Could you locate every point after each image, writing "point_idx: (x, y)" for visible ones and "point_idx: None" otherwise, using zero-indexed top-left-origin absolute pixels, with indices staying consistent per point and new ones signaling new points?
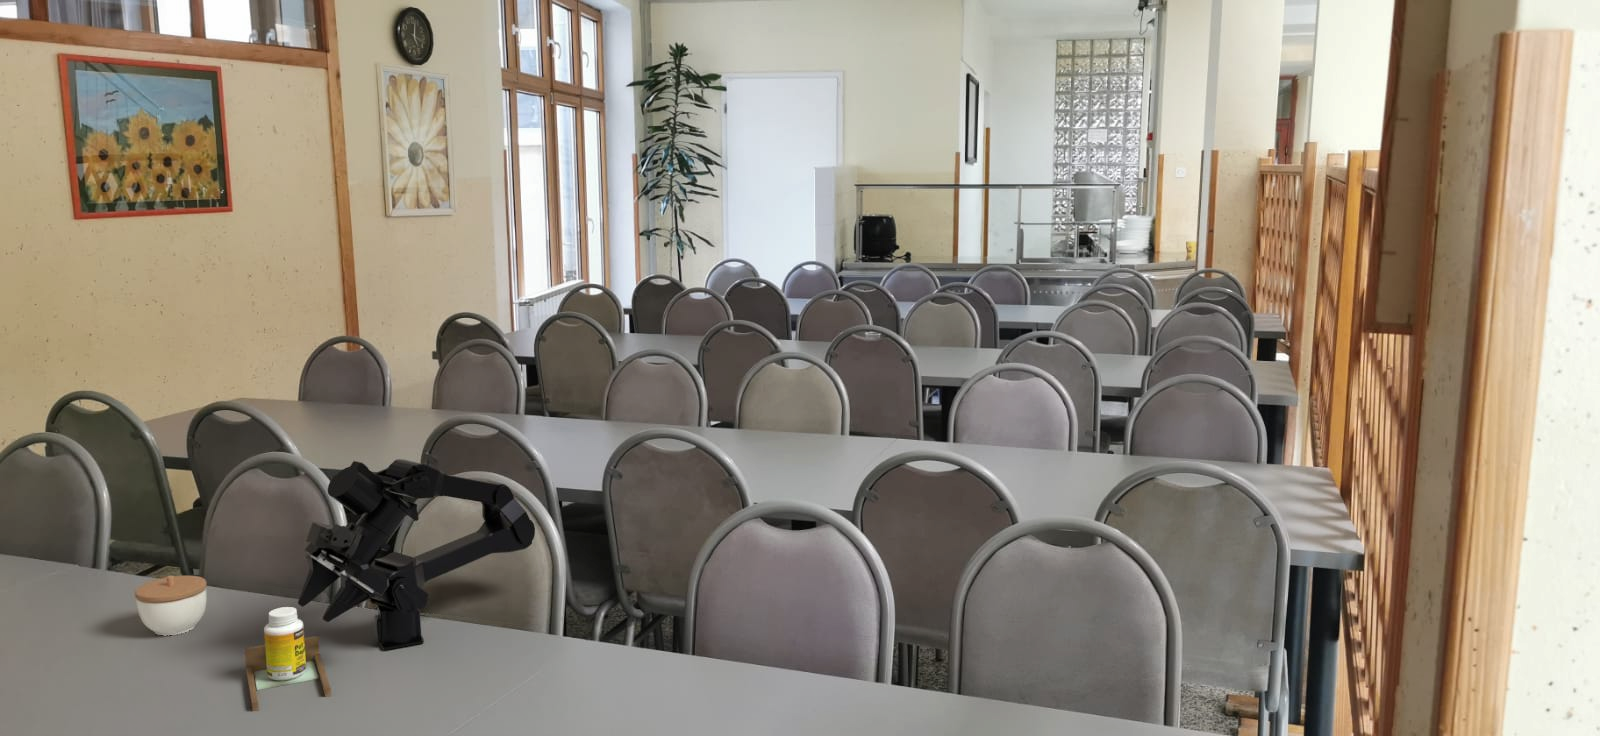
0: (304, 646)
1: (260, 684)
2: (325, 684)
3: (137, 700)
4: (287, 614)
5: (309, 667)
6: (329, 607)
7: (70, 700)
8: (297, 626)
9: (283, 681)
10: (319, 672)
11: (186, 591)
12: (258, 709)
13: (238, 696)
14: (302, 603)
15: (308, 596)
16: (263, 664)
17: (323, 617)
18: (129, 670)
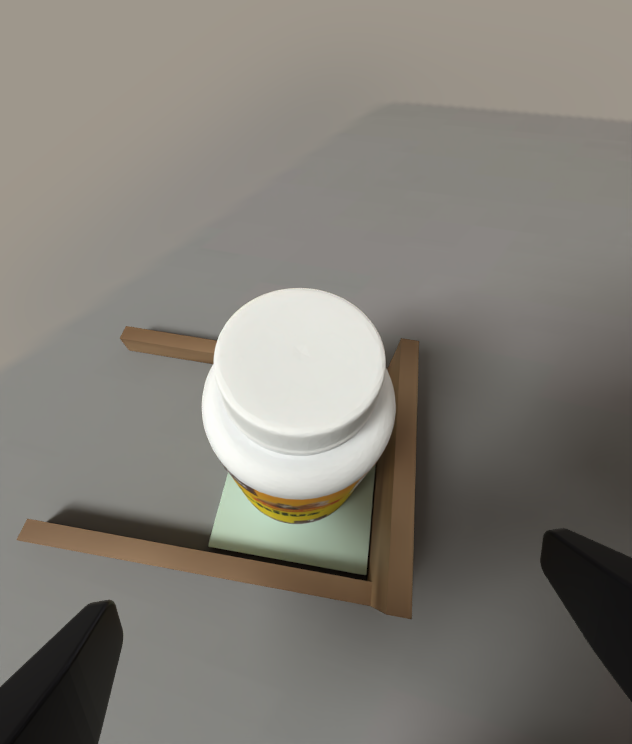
0: (264, 506)
1: None
2: (63, 533)
3: (368, 203)
4: (219, 360)
5: (311, 543)
6: (7, 702)
7: (432, 146)
8: (215, 442)
9: None
10: (196, 550)
11: None
12: (129, 349)
13: None
14: (554, 562)
15: (614, 628)
16: None
17: (87, 607)
18: (537, 216)
